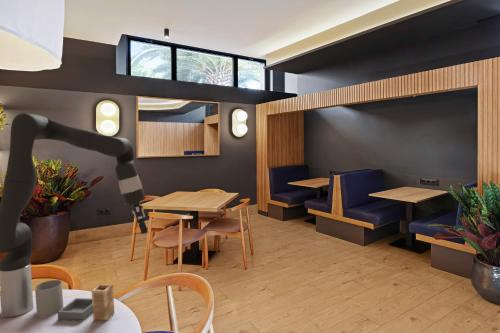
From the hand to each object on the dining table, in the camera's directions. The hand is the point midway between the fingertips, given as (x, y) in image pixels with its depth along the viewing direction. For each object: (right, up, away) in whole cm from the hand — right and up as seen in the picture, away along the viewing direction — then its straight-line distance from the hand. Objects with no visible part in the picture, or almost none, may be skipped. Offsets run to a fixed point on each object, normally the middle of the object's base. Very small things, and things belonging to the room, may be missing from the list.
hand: (144, 231), depth 111 cm
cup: (-36, -31, +1) cm, 47 cm away
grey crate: (-24, -30, -1) cm, 38 cm away
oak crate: (-13, -30, -4) cm, 33 cm away
